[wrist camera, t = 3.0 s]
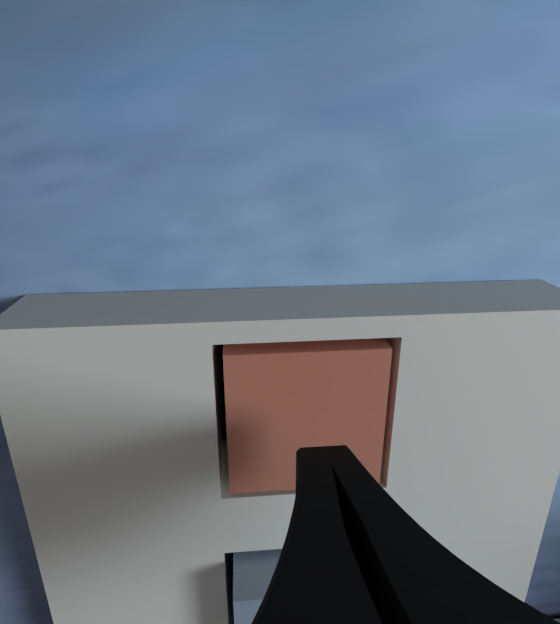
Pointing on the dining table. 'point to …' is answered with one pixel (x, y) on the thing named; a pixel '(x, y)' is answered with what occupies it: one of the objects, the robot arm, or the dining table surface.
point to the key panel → (213, 452)
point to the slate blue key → (251, 581)
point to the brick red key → (302, 406)
